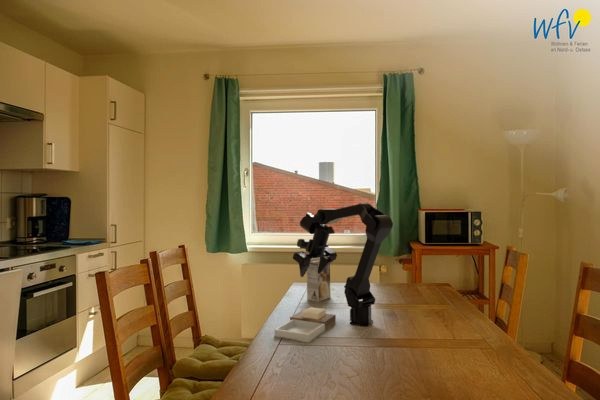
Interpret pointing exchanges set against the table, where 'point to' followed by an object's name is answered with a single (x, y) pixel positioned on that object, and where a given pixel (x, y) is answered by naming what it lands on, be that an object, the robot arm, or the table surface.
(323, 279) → the coffee box
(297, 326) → the box
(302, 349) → the table surface
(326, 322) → the brown rectangular slab
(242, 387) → the table surface
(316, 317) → the block
